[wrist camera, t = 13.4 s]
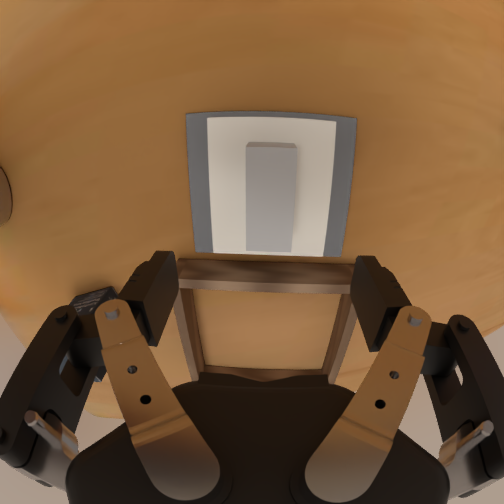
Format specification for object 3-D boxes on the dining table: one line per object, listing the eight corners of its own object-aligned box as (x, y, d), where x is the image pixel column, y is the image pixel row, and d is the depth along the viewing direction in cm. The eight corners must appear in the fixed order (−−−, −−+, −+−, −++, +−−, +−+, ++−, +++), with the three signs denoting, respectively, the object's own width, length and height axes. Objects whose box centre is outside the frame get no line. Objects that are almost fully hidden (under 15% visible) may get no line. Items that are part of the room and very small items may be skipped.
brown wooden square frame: (198, 368, 37) (194, 388, 33) (178, 258, 28) (167, 278, 25) (327, 373, 36) (330, 393, 32) (357, 264, 27) (366, 284, 24)
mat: (196, 250, 27) (195, 252, 27) (186, 113, 21) (185, 113, 21) (340, 255, 26) (340, 256, 26) (355, 118, 20) (356, 118, 20)
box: (112, 284, 30) (69, 347, 21) (135, 319, 33) (103, 384, 24) (74, 295, 32) (33, 349, 23) (96, 326, 34) (63, 381, 25)
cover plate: (215, 247, 26) (206, 270, 23) (209, 117, 21) (197, 119, 17) (321, 251, 26) (328, 275, 22) (333, 121, 20) (346, 124, 17)
